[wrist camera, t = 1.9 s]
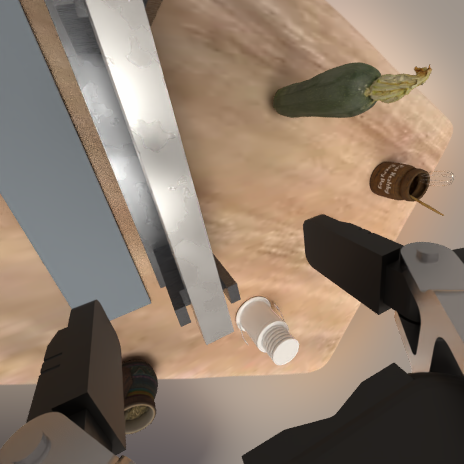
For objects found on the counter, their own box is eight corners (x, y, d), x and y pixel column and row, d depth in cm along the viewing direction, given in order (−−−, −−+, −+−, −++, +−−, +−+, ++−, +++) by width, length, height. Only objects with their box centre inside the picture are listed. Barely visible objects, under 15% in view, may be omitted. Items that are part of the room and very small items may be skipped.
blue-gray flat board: (-140, -40, 20) (-147, -44, 20) (-3, -49, 23) (-5, -52, 22) (85, 328, 37) (85, 331, 37) (150, 300, 40) (151, 303, 39)
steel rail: (48, -96, 15) (36, -140, 12) (104, -97, 16) (104, -139, 13) (197, 325, 29) (206, 344, 27) (223, 313, 30) (234, 331, 28)
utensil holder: (398, 167, 50) (473, 179, 40) (382, 199, 51) (451, 219, 41) (378, 156, 47) (453, 166, 37) (362, 191, 49) (430, 210, 38)
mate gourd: (164, 364, 45) (177, 423, 36) (128, 396, 44) (133, 463, 36) (132, 345, 41) (138, 405, 33) (92, 380, 41) (88, 450, 32)
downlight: (239, 338, 49) (269, 381, 41) (227, 311, 46) (257, 352, 38) (275, 314, 51) (311, 351, 43) (266, 287, 48) (303, 321, 40)
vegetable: (264, 123, 37) (399, 127, 20) (253, 90, 35) (393, 63, 18) (290, 108, 38) (442, 99, 21) (281, 75, 36) (441, 35, 19)
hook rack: (36, -20, 24) (-37, -166, 12) (128, -28, 26) (146, -159, 14) (159, 284, 39) (183, 360, 27) (210, 263, 42) (255, 324, 29)
